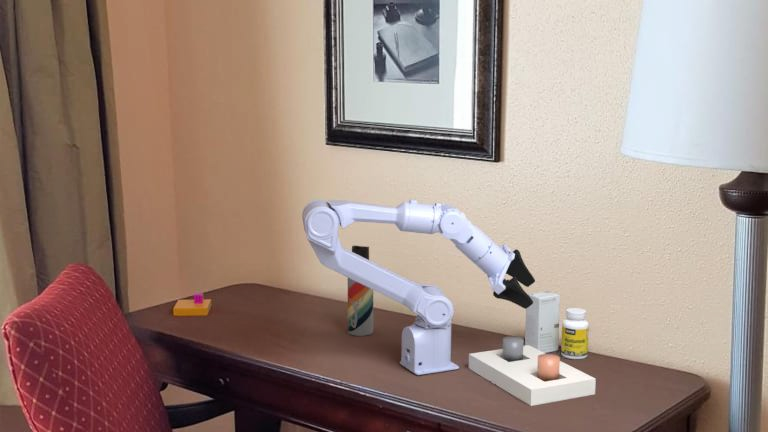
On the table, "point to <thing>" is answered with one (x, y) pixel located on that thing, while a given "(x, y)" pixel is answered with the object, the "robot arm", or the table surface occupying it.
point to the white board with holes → (531, 377)
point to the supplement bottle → (575, 334)
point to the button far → (512, 349)
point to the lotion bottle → (360, 302)
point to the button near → (548, 367)
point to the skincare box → (543, 322)
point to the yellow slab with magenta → (192, 306)
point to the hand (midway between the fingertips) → (530, 294)
